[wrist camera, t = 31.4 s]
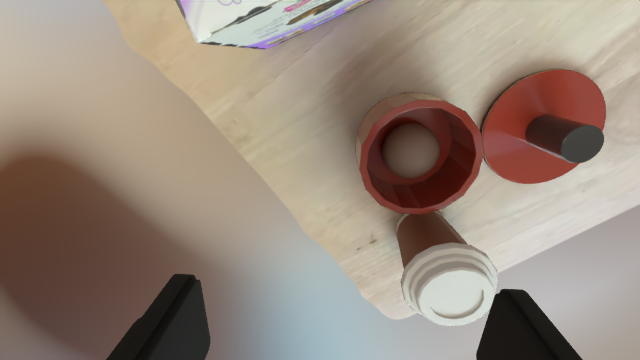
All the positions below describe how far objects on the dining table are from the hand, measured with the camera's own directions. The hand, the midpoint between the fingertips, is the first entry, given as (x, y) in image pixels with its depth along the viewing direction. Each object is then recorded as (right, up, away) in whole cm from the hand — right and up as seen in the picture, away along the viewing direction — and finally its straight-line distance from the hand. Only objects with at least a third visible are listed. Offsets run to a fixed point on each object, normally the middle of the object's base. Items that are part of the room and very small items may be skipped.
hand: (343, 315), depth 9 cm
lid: (+23, +10, +23) cm, 34 cm away
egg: (+9, +8, +24) cm, 27 cm away
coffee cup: (+12, -2, +29) cm, 31 cm away
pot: (+9, +9, +25) cm, 28 cm away
